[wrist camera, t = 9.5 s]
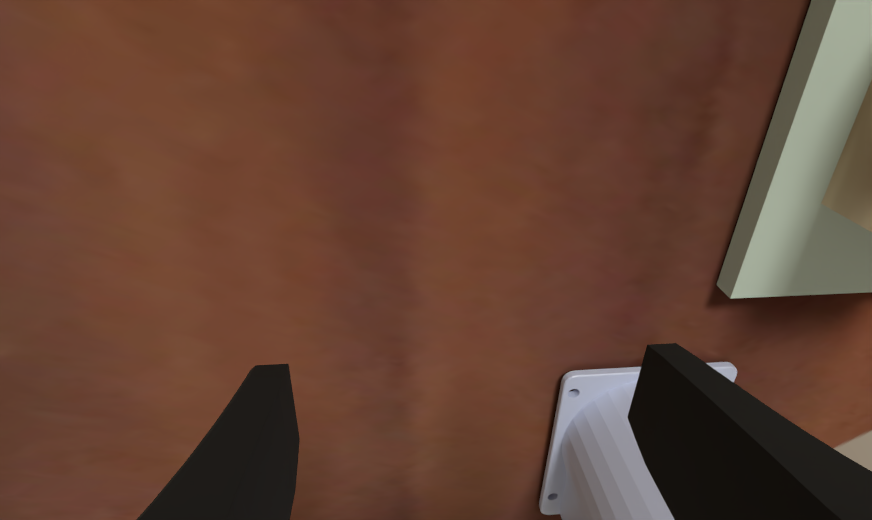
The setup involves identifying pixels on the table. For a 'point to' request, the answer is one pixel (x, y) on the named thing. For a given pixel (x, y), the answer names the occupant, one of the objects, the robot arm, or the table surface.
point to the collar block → (855, 171)
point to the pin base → (807, 169)
